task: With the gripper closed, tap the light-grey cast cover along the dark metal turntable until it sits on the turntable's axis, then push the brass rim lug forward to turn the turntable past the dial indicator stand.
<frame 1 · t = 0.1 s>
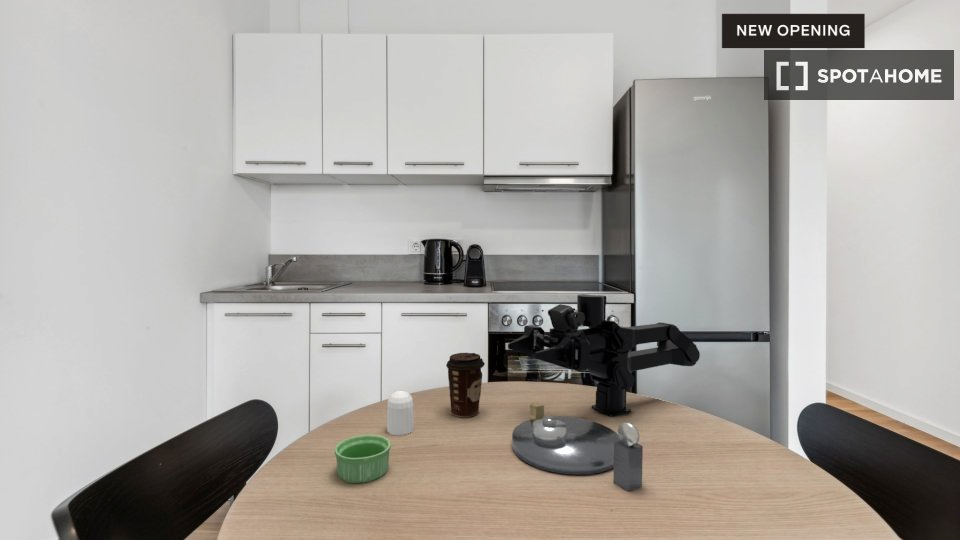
hand: (521, 350, 88), 17 cm above the table, tool horizontal, fingers open, 9 cm apart
turntable: (566, 433, 81), point 3 cm above the table, hinge at 0.0°, touching cover
ramekin: (363, 472, 73), on the table
cover: (549, 441, 79), point 2 cm above the table, touching turntable
coffee cup: (465, 413, 99), on the table
indicator stand: (627, 484, 69), on the table
salt shaker: (400, 430, 90), on the table
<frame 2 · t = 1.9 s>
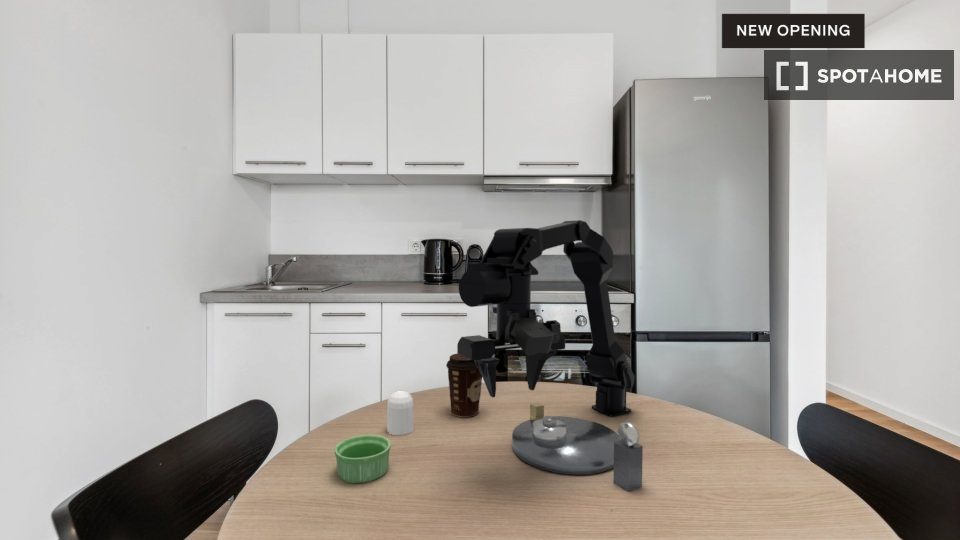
hand: (512, 393, 75), 12 cm above the table, tool pointing down, fingers open, 8 cm apart
nothing on the table moved.
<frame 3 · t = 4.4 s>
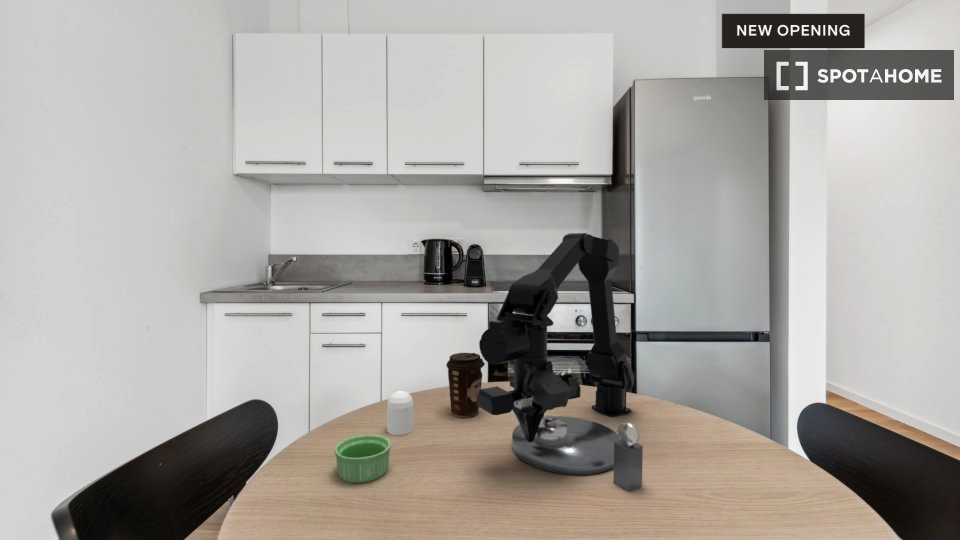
hand: (529, 441, 77), 3 cm above the table, tool pointing down, fingers closed
cover: (549, 441, 79), point 2 cm above the table, touching gripper, turntable
everything else where it was.
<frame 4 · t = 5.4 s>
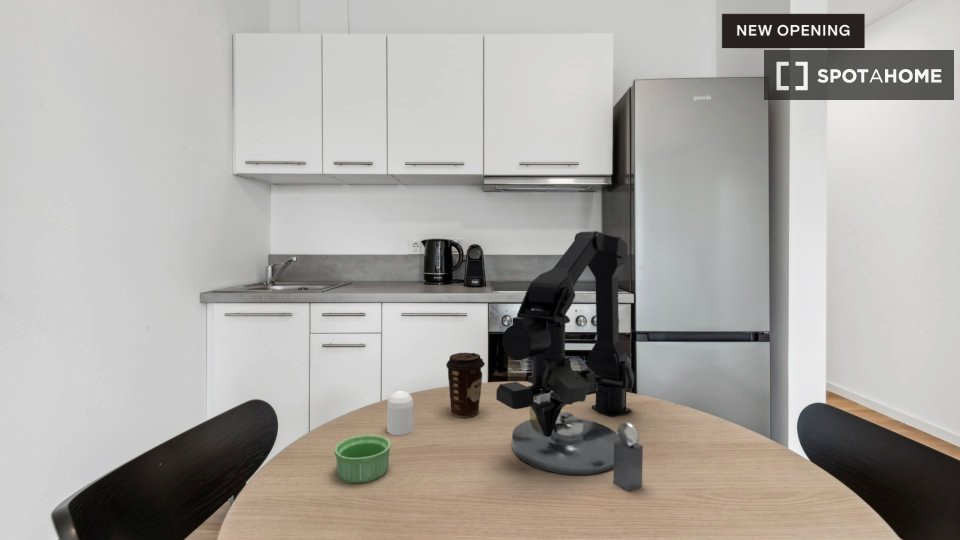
hand: (547, 435, 79), 3 cm above the table, tool pointing down, fingers closed
cover: (566, 437, 81), point 2 cm above the table, touching gripper, turntable
everything else where it was.
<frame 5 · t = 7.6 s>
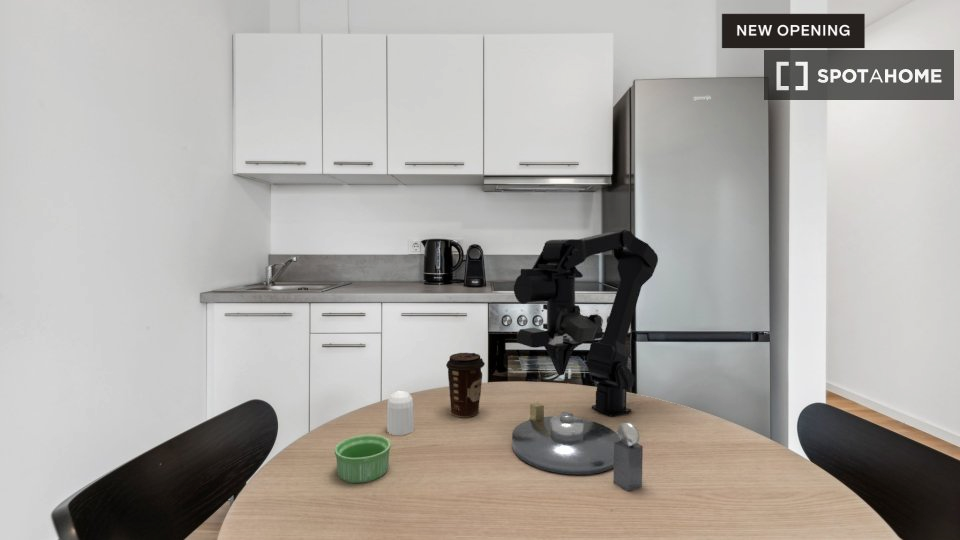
hand: (560, 374, 92), 11 cm above the table, tool pointing down, fingers closed
cover: (566, 437, 81), point 2 cm above the table, touching turntable
everything else where it was.
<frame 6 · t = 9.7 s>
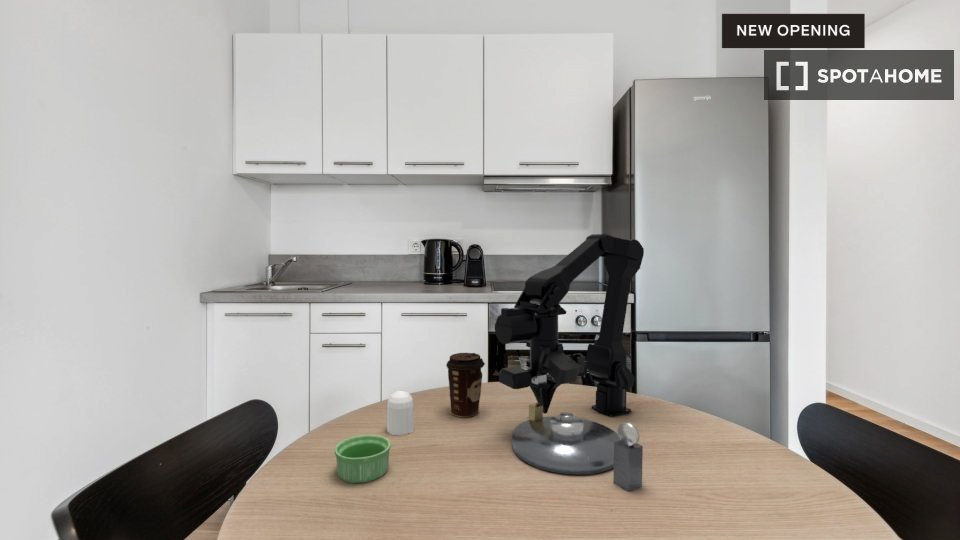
hand: (544, 412, 90), 3 cm above the table, tool pointing down, fingers closed
turntable: (566, 433, 81), point 3 cm above the table, hinge at 2.1°, touching cover, gripper
everything else where it was.
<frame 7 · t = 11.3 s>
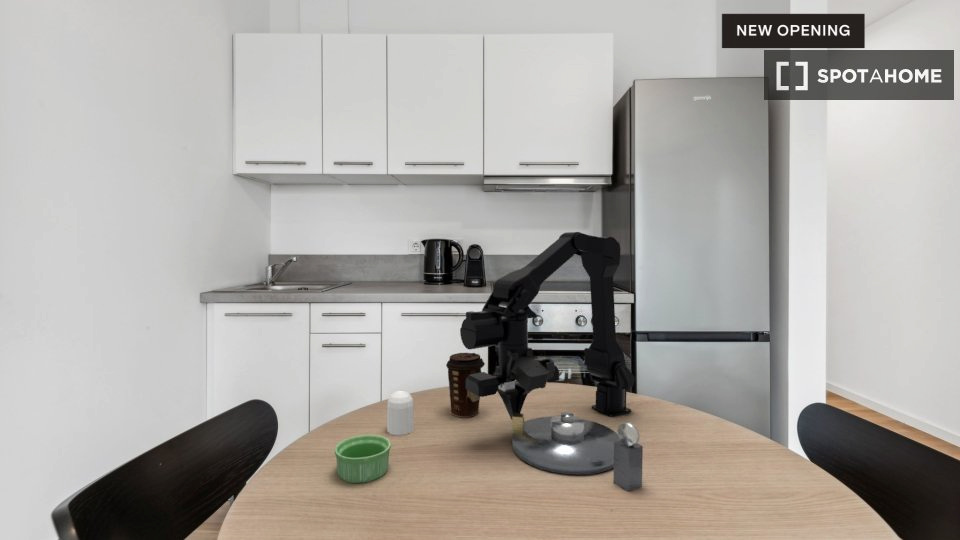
hand: (514, 420, 86), 3 cm above the table, tool pointing down, fingers closed
turntable: (566, 433, 81), point 3 cm above the table, hinge at 46.6°, touching cover
everything else where it was.
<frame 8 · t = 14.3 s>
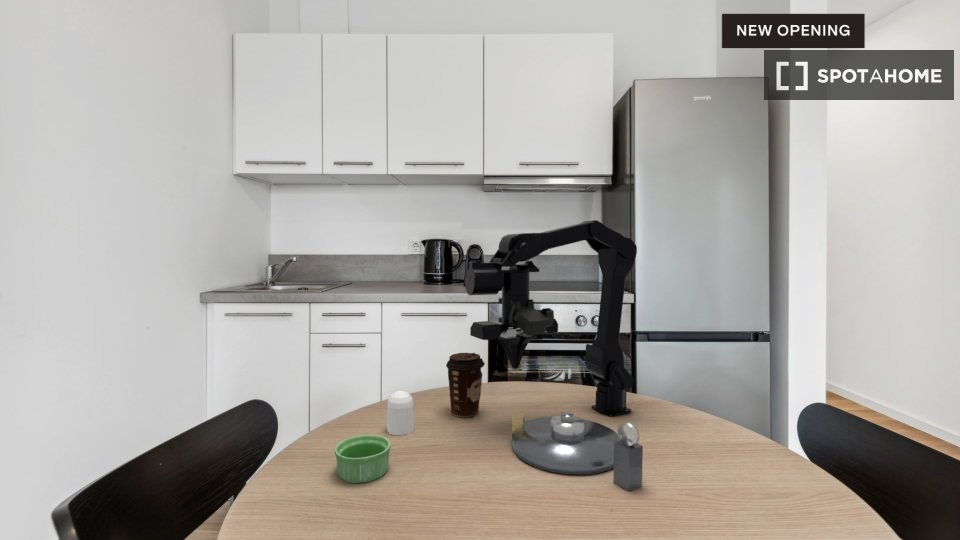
hand: (515, 368, 92), 12 cm above the table, tool pointing down, fingers closed
nothing on the table moved.
at the end: cover 0.2 cm from the turntable (horizontally); turntable at +47° (first picture: +0°); cover tilted 0° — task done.
